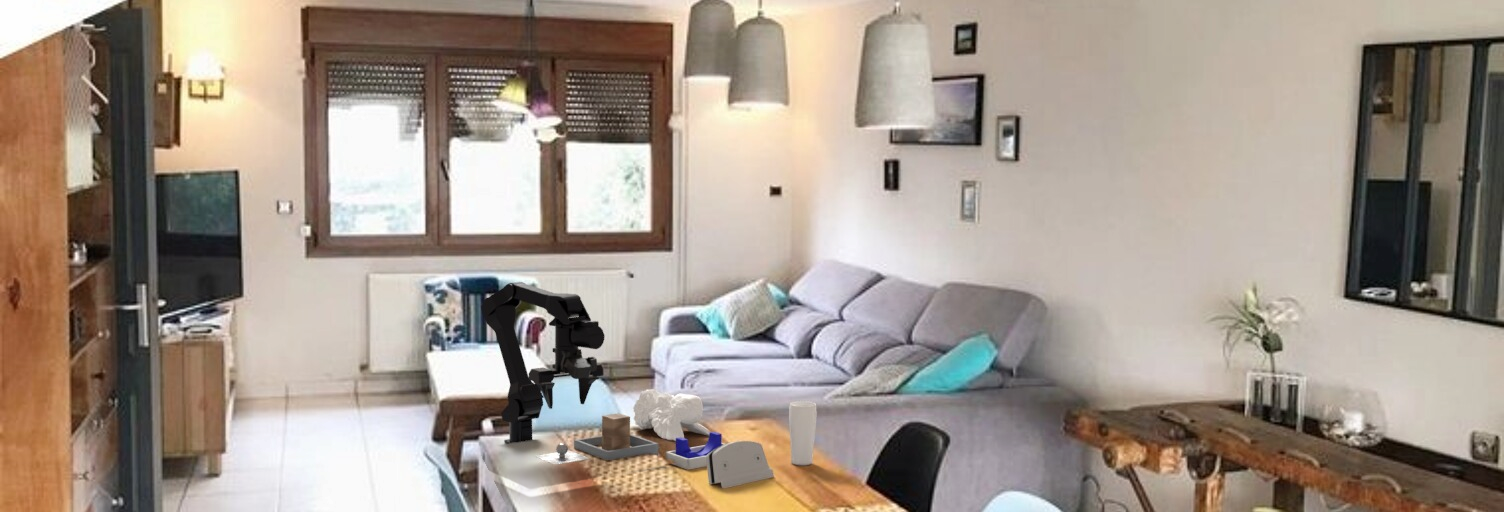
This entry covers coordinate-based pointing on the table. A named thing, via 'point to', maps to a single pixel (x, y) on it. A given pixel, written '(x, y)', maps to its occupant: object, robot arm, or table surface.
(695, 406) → the cherub figurine
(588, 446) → the tray
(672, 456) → the clip organiser
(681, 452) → the cable clip
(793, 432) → the drinking glass
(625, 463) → the table surface
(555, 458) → the stud plate
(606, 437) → the wooden block
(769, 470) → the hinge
